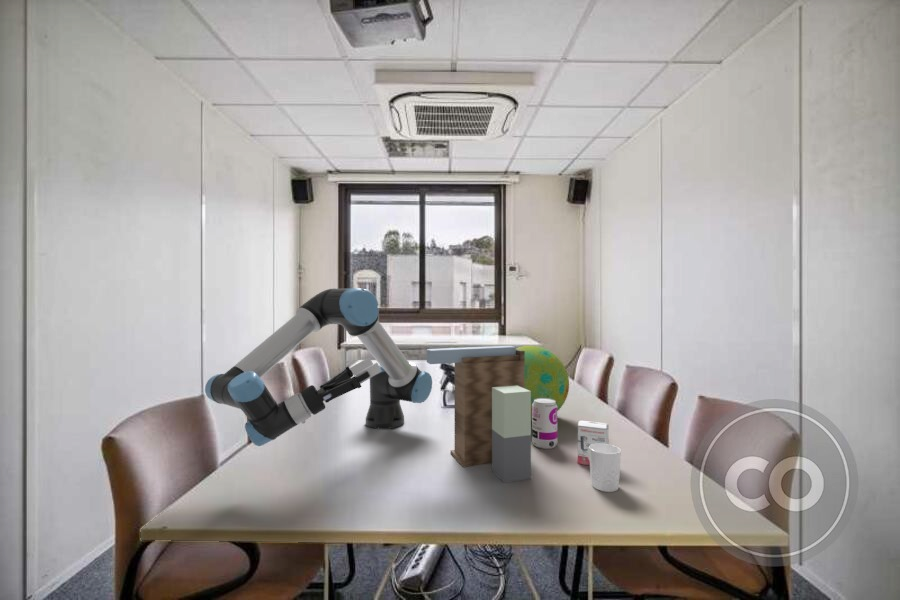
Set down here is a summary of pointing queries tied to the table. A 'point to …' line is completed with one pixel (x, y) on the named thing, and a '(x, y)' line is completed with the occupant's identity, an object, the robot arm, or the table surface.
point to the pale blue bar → (466, 353)
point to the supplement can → (544, 423)
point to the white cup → (605, 466)
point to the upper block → (511, 411)
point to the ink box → (590, 438)
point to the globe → (545, 375)
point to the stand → (481, 402)
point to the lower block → (511, 457)
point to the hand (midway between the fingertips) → (375, 363)
